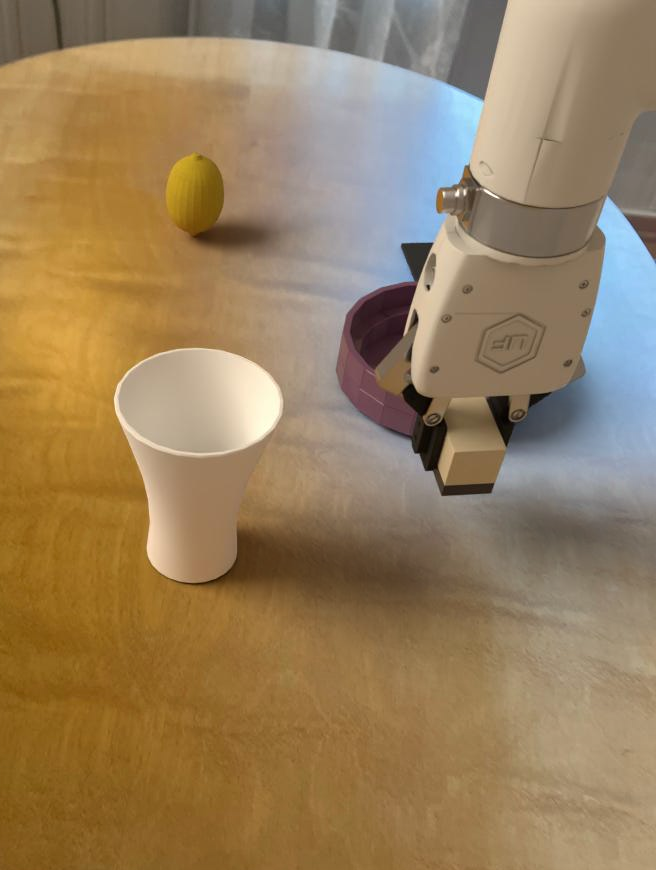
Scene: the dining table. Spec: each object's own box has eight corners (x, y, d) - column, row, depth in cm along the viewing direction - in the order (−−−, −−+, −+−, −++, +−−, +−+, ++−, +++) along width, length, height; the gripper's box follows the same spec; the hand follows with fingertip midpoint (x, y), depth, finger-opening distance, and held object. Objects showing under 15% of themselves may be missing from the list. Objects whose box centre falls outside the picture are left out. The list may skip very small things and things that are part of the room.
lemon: (233, 235, 98) (238, 153, 92) (195, 257, 96) (198, 174, 90) (191, 214, 101) (194, 133, 94) (153, 234, 98) (153, 153, 92)
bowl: (498, 323, 90) (512, 278, 87) (554, 443, 80) (573, 397, 77) (320, 328, 89) (327, 283, 86) (355, 450, 79) (365, 405, 76)
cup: (191, 479, 77) (198, 326, 66) (294, 552, 72) (319, 401, 62) (88, 548, 72) (78, 396, 62) (192, 630, 68) (200, 482, 57)
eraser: (465, 426, 73) (478, 381, 69) (491, 494, 68) (507, 449, 65) (417, 428, 72) (428, 383, 69) (441, 496, 68) (454, 452, 65)
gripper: (396, 249, 53) (347, 500, 67) (701, 236, 54) (588, 487, 68) (368, 176, 57) (328, 426, 72) (650, 166, 58) (554, 415, 73)
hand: (455, 453), depth 70 cm, fingers closed on eraser, 3 cm apart
